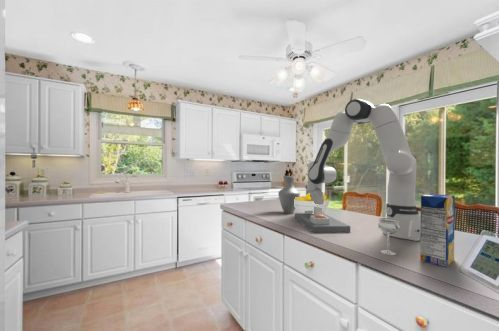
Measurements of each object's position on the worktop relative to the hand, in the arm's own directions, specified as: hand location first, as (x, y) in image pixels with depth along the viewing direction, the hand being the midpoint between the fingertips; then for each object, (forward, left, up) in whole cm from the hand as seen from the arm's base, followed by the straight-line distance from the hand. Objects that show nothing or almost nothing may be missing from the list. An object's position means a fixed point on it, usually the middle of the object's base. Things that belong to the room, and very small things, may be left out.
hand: (314, 209), depth 147 cm
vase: (+12, -17, -5) cm, 21 cm away
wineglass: (-5, +60, -5) cm, 60 cm away
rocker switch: (+7, +10, 0) cm, 12 cm away
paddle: (0, +6, -1) cm, 6 cm away
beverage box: (-17, +68, -5) cm, 70 cm away
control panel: (+4, +17, -5) cm, 18 cm away
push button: (+7, +26, 0) cm, 27 cm away
